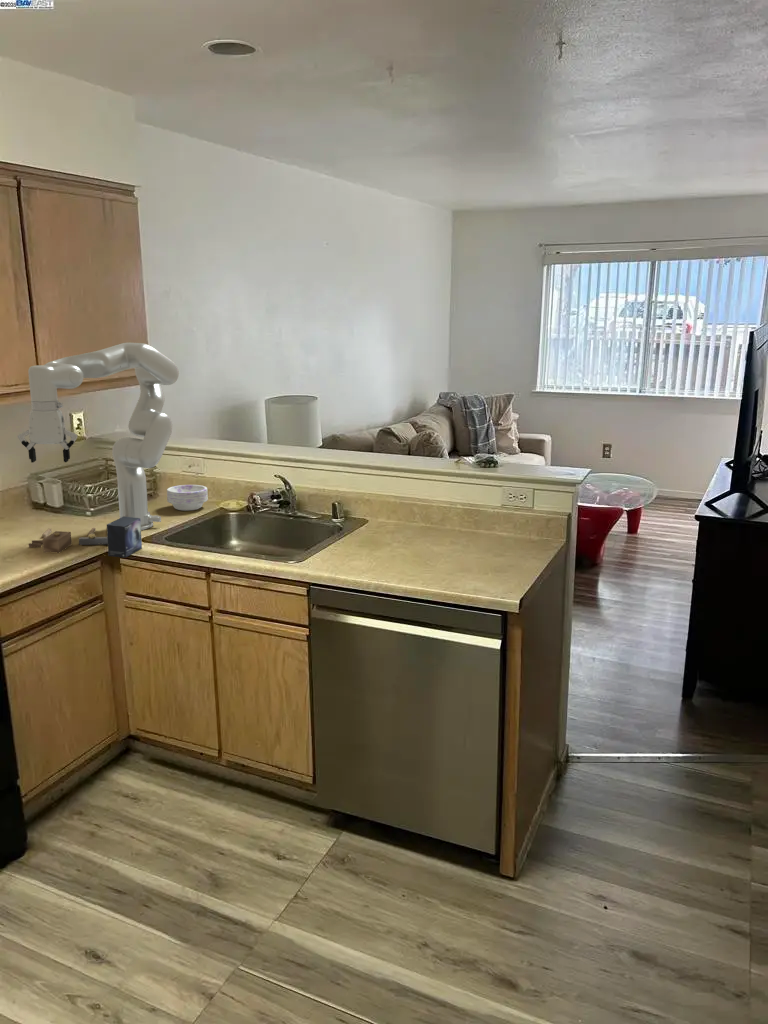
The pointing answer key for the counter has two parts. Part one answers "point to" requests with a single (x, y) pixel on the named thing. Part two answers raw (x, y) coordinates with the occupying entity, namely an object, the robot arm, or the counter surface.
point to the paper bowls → (187, 496)
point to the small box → (124, 536)
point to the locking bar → (92, 540)
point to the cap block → (57, 541)
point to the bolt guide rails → (50, 532)
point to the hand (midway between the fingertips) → (50, 461)
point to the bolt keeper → (36, 543)
